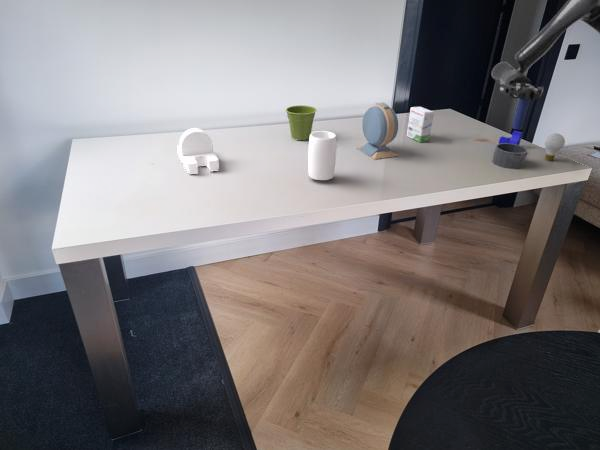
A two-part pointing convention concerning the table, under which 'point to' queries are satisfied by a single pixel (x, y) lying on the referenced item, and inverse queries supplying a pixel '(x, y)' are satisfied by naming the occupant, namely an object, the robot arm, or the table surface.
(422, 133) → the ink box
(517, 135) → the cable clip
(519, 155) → the pen pot
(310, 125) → the plant pot
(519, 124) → the marker
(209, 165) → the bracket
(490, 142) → the coaster
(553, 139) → the light bulb
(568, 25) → the robot arm
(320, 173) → the cup
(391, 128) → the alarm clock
